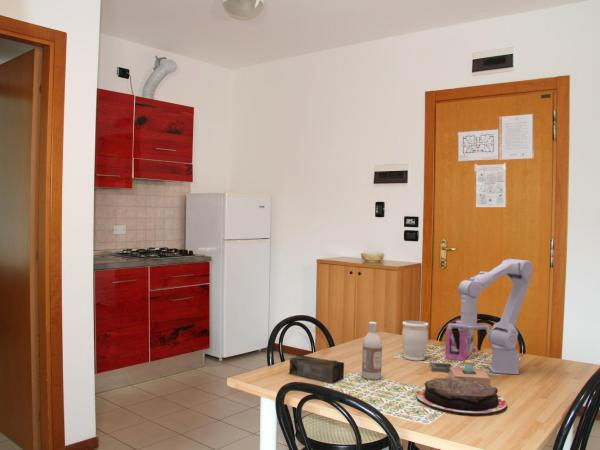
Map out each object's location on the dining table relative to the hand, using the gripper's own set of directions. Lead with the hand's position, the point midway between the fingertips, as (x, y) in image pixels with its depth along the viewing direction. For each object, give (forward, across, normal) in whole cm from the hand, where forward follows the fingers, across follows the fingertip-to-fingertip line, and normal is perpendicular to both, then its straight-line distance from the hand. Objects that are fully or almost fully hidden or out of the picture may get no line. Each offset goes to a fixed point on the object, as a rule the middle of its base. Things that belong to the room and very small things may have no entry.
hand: (468, 349), depth 194 cm
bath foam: (+10, -36, -10) cm, 38 cm away
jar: (+10, -17, +21) cm, 29 cm away
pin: (+10, -1, -6) cm, 12 cm away
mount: (+10, -9, +7) cm, 15 cm away
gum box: (+10, +3, +33) cm, 34 cm away
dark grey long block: (+10, -56, -12) cm, 58 cm away
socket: (+10, -1, -6) cm, 12 cm away
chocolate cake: (+10, -8, -29) cm, 32 cm away
